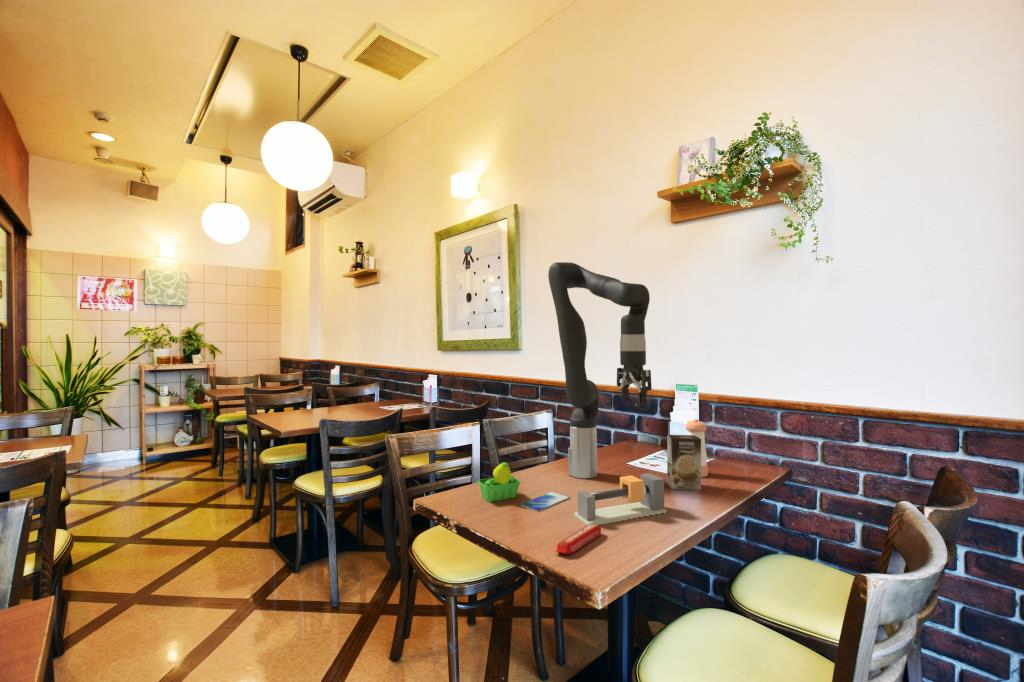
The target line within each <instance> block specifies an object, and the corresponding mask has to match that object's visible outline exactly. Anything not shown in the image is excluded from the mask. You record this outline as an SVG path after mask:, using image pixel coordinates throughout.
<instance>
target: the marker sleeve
mask: <svg viewBox="0 0 1024 682" xmlns="http://www.w3.org/2000/svg"><path fill="white" fill-rule="evenodd" d="M623 488H628V496H622V497H620V499H627V498H628V499H627V502H628V503H636V502H642V501H644V499H643V480H641V479H640V477H636V476H634V475H625V476H620V477H619V489H623Z"/></svg>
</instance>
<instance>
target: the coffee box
mask: <svg viewBox="0 0 1024 682" xmlns="http://www.w3.org/2000/svg"><path fill="white" fill-rule="evenodd" d="M666 440H667V454H666V455H667V456H666V460H667V461H666V464H667V467H666V469H667V470H666V471H667V472H666V484H667V485H668V486H669V488H670V489H672V490H689V489H691V490H692V491H693V490H695V491H697V490H698V491H701V490H702V477H701V439H700V438H699V437H697V436H695V435H688V434H667V439H666Z"/></svg>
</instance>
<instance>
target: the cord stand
mask: <svg viewBox="0 0 1024 682" xmlns="http://www.w3.org/2000/svg"><path fill="white" fill-rule="evenodd" d="M639 479H641V480H643V499H644V501H642V502H636V503H630V502H628V503H623V504H618V505H612V506H606V507H600V508H596V501H601V500H608V499H615V498H621V497H622V496H628V488H623V489H620V488H617V489H612V490H611V489H610V490H604V491H598V492H591V493H590V492H588V491H587V490H581V491H577V511H574V512H573V513H574V514H573V515H574V516H575V517H576V518H577V519H579V520H580V521H581V522H583V523H584V524H585V525H586V526H588V525H598V526H601V525H606V524H611V523H612V522H613V523H616V522H617V523H618V522H624V521H628V519H630V520H634V519H633V518H635V519H639V518H638V517H641V518H644V517H643V516H647V517H650V516H649V515H653V516H656V515H655V514H658V515H662V514H661V513H664V514H667V513H666V512H668V511H667V510H668V509H666V508H665V478H663V477H660V476H658V475H656V474H653V473H651V472H648V473H647V472H646V473H642V474H640V475H639ZM623 520H624V521H623Z"/></svg>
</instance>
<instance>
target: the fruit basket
mask: <svg viewBox="0 0 1024 682" xmlns="http://www.w3.org/2000/svg"><path fill="white" fill-rule="evenodd" d="M492 476H493V477H488V478H481V479H478V480H477V482H478V484H479V488H480V493H481V496H482V498H483V499H484V500H486V501H487V502H489V503H491V502H495V501H501V500H508V499H514V498H516V497H517V493H518V490H519V486H520V483H521V480H519V479H518V478H516V477H514V476H513V475H512V471H511V469H510V465H509V464H508V462H501V463H500V464H499V465H498V466H496V467H495V468H494V470H493V472H492Z"/></svg>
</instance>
